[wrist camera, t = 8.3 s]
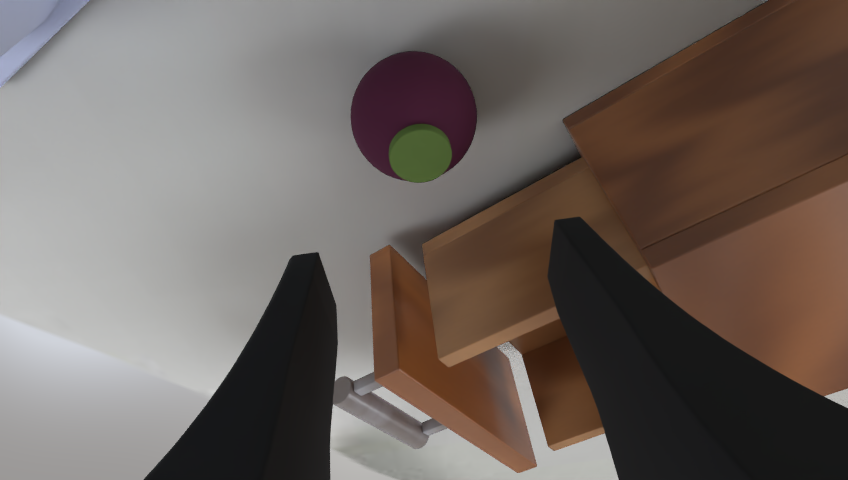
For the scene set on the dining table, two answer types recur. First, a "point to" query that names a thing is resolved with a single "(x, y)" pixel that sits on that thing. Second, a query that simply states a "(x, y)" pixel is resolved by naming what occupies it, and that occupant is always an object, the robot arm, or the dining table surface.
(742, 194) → the cabinet
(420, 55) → the mangosteen
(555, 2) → the dining table surface
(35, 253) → the dining table surface
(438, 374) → the drawer
